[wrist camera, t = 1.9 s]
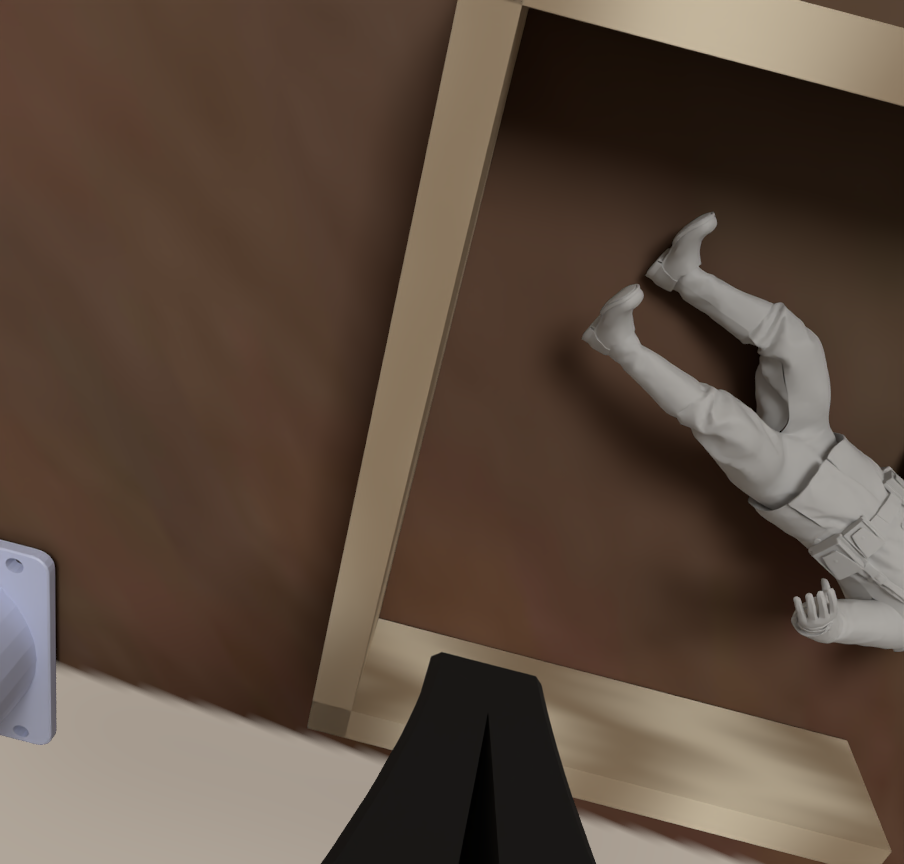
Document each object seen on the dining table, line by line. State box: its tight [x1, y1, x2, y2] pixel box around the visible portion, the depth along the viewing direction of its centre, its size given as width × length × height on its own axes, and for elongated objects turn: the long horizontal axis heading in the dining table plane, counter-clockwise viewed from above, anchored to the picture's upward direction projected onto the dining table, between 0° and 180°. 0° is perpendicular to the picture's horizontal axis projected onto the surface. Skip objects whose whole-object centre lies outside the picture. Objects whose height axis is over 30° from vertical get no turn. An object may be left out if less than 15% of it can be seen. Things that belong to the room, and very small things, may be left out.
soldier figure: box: [581, 212, 904, 652], centre depth 17 cm, size 8×5×12 cm
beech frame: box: [307, 0, 904, 864], centre depth 18 cm, size 15×18×4 cm
